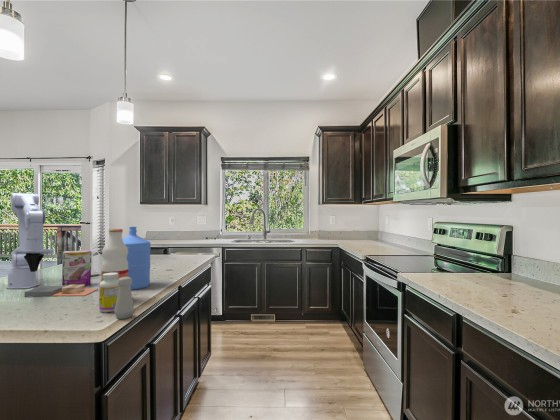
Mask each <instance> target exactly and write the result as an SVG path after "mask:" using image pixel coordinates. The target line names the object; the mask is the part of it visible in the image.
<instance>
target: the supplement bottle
mask: <svg viewBox="0 0 560 420" xmlns="http://www.w3.org/2000/svg"><path fill="white" fill-rule="evenodd" d="M117 277H118V273H105V274H103V279H104V281H102V282H101V281H100V283H99V296H98V297H99V302H98V303H99V304H98V305H99V306H98V310H99V312H101V313H113V312H114V310H115V306H116V301H117V297H118V292H119V287H120V286H119V285H118V280H117ZM114 313H115V312H114Z"/></svg>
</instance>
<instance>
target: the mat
mask: <svg viewBox="0 0 560 420" xmlns="http://www.w3.org/2000/svg"><path fill="white" fill-rule="evenodd" d="M98 290H99V288H85V290H84V291H82V292H79V293H77V294H62V291H61V292H59V293H56V294H54V295H52V296H51V297H86V296H87V295H90V294H92V293H94V292H96V291H98Z"/></svg>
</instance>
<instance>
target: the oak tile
mask: <svg viewBox="0 0 560 420" xmlns="http://www.w3.org/2000/svg"><path fill="white" fill-rule="evenodd" d="M85 289H86V286H85V284H82V285H68V286H65V287H63V288H62V294H77V293H79V292H82V291H84V290H85Z"/></svg>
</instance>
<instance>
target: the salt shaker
mask: <svg viewBox="0 0 560 420" xmlns="http://www.w3.org/2000/svg"><path fill="white" fill-rule="evenodd" d="M130 284H132V278H131V277H122V278H119V279H118V285H119V286H120V287H119V292H118V297H117V301H116V306H115V310H114V314H115V316H116V318H117V319H118V320H119V319H120V320H124V319H125V320H126V319H129V318H132V316H133V313H134V310H135V307H134V302H133V301H134V300H133V296H132V295H133V294H132V290H131V288H130Z"/></svg>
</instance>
